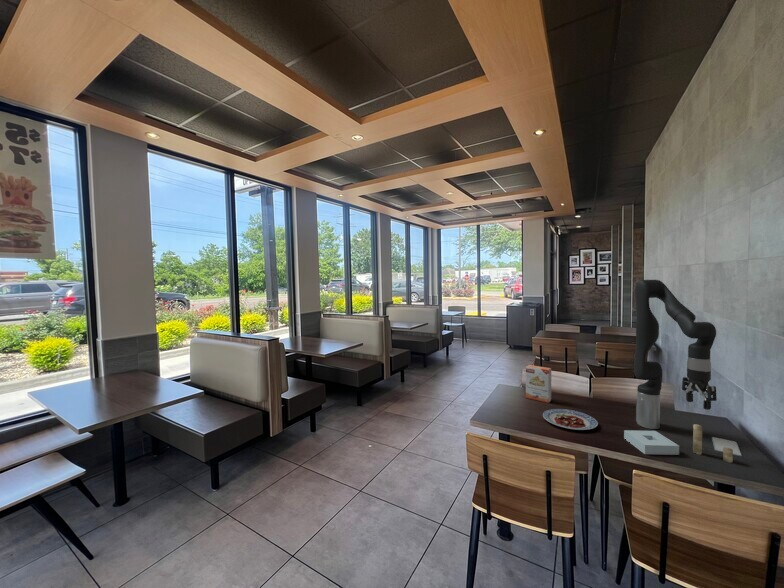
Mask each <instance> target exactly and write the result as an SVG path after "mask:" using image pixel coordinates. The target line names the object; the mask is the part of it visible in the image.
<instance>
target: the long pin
mask: <svg viewBox="0 0 784 588" xmlns="http://www.w3.org/2000/svg"><path fill="white" fill-rule="evenodd" d="M692 427H693V428H692V429H693V431H692V432H693V433H692V434H693V435H692V453H694V454H695V453H696V454H695V455H701V456H702V454H703V453H702V452H703V426H702V425H700V424H697V423H696V424H693V425H692Z"/></svg>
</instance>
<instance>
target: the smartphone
mask: <svg viewBox="0 0 784 588" xmlns="http://www.w3.org/2000/svg"><path fill="white" fill-rule="evenodd" d="M711 442H712V444H713V449H714V451H716V452H719V453H723V448H724V447H726V448H730V449H732V450H733V456H735V457H736V456H738V457H743V455H742V451H741V449H740V447H739V444H738V442H737V441H734V440H729V439H725V438H721V437H717V436H716V437H715V436H712V437H711Z"/></svg>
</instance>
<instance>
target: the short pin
mask: <svg viewBox="0 0 784 588" xmlns="http://www.w3.org/2000/svg"><path fill="white" fill-rule="evenodd" d="M733 458H734V455H733V450H732V449H730V448H726V447H724V448H723V452H722V460H723V462H726V463H730V464H731V463H733V460H734V459H733Z"/></svg>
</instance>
